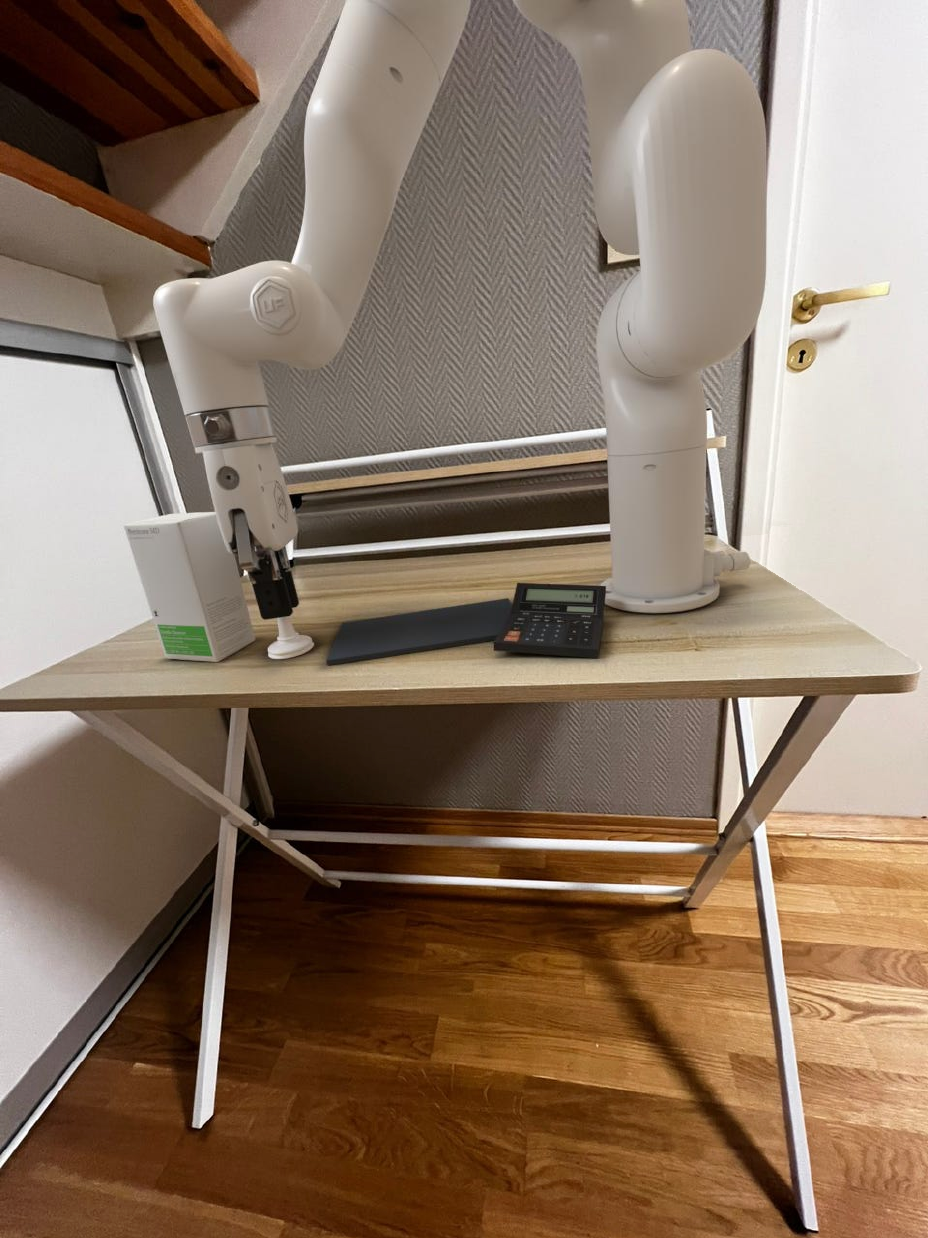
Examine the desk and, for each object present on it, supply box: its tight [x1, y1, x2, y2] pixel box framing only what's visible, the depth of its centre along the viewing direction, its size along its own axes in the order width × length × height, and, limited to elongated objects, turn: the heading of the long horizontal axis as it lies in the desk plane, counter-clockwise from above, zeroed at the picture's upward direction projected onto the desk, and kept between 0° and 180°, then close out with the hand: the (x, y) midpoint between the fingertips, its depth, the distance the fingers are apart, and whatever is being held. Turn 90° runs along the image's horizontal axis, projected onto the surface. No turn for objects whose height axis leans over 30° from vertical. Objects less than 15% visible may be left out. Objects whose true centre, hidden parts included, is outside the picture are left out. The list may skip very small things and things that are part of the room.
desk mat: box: [325, 597, 512, 666], centre depth 59 cm, size 20×11×1 cm, turn 94°
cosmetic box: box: [123, 511, 256, 663], centre depth 60 cm, size 8×7×16 cm
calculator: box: [492, 582, 606, 659], centre depth 53 cm, size 9×12×3 cm
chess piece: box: [267, 562, 315, 660], centre depth 57 cm, size 5×5×10 cm
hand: (281, 611), depth 57 cm, fingers closed on chess piece
